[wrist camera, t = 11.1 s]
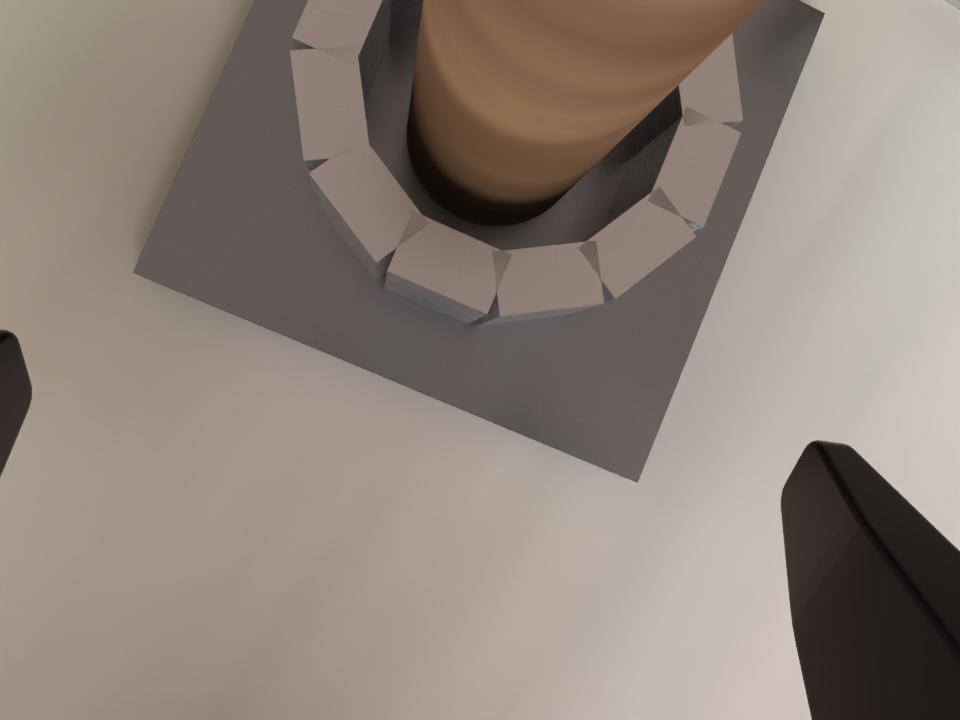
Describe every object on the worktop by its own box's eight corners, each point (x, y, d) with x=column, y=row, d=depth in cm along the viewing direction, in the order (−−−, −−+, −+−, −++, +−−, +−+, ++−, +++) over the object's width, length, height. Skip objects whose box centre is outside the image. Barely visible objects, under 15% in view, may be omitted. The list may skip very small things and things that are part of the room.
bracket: (626, 478, 20) (691, 504, 16) (143, 276, 18) (79, 250, 14) (807, 27, 20) (911, -56, 16) (356, -198, 19) (351, -348, 15)
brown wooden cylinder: (504, 262, 19) (798, -2, 6) (369, 141, 18) (357, -434, 5) (617, 134, 19) (1134, -385, 6) (487, 13, 19) (742, -808, 6)
